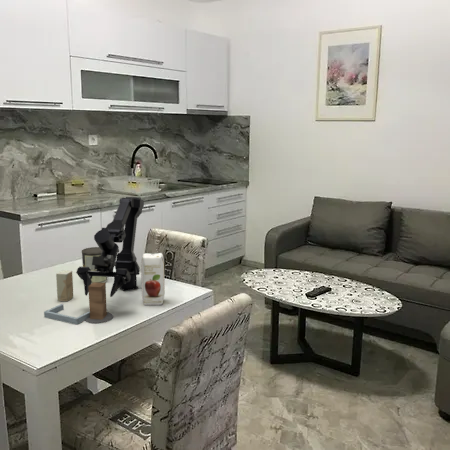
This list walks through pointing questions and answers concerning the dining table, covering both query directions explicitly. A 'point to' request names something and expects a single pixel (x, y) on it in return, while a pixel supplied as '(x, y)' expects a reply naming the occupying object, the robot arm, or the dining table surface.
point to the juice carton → (152, 279)
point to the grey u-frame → (54, 315)
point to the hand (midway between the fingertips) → (98, 295)
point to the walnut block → (97, 300)
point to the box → (64, 285)
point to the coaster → (105, 319)
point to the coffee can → (87, 262)
